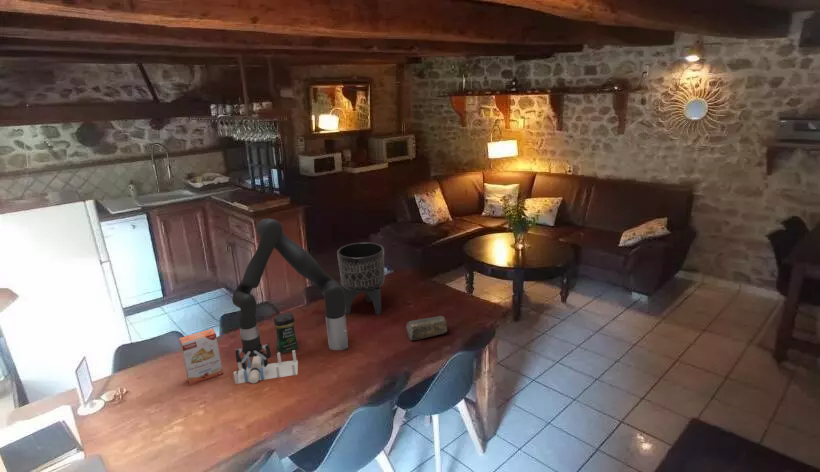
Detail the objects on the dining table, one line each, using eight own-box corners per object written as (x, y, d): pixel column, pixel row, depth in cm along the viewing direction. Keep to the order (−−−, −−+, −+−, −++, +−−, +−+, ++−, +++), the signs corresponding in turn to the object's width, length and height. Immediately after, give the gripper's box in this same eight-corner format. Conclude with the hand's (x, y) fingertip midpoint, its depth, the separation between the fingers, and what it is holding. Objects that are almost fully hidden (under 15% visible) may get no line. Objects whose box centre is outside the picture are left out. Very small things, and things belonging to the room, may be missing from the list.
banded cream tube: (253, 363, 220) (252, 355, 218) (262, 362, 220) (261, 354, 219) (249, 384, 205) (248, 375, 204) (259, 382, 206) (258, 374, 204)
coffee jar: (280, 356, 226) (275, 320, 221) (275, 348, 233) (270, 314, 227) (300, 350, 231) (295, 315, 225) (295, 342, 237) (290, 308, 232)
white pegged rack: (298, 361, 222) (296, 349, 220) (297, 377, 209) (295, 365, 207) (239, 369, 217) (237, 358, 215) (235, 386, 205) (233, 374, 203)
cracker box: (190, 386, 207) (181, 343, 200) (187, 379, 212) (178, 337, 205) (223, 374, 214) (215, 332, 207) (220, 368, 219) (212, 327, 212)
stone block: (405, 336, 241) (413, 344, 232) (404, 320, 239) (412, 327, 230) (441, 326, 248) (450, 334, 239) (440, 310, 246) (449, 317, 237)
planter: (349, 299, 283) (344, 241, 272) (391, 300, 279) (387, 242, 268) (337, 319, 259) (331, 257, 248) (382, 320, 255) (378, 258, 244)
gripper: (267, 328, 211) (272, 360, 216) (233, 333, 209) (239, 365, 214) (266, 336, 204) (271, 369, 209) (231, 341, 202) (237, 374, 207)
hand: (255, 367), depth 212 cm, fingers open, 8 cm apart
